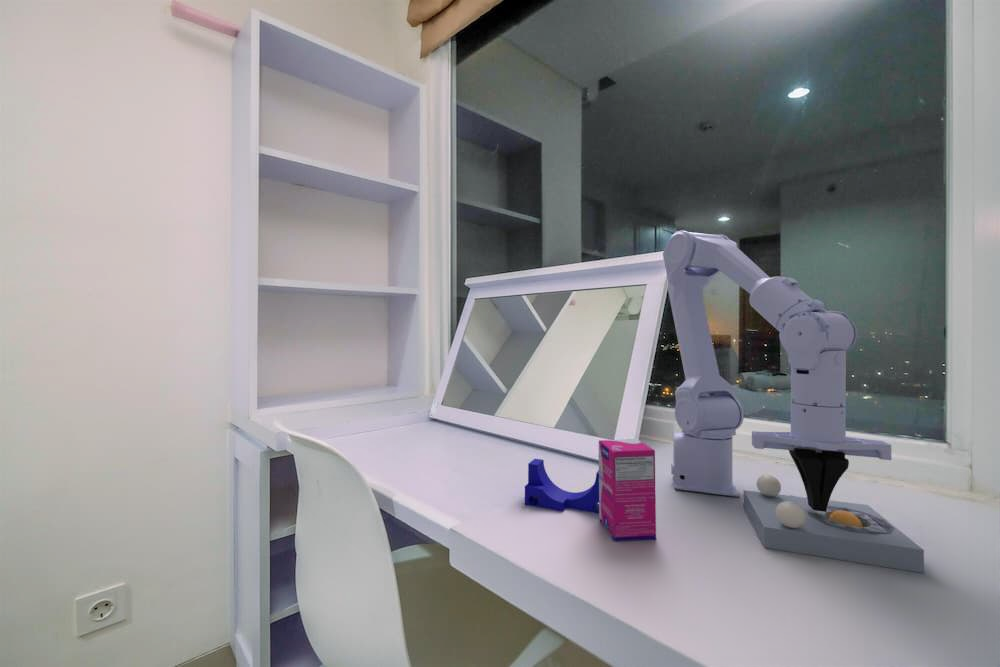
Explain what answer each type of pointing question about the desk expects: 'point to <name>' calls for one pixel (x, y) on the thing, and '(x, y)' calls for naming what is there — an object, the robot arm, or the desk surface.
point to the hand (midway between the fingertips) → (817, 508)
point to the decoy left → (768, 485)
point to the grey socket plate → (834, 533)
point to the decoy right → (790, 514)
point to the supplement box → (627, 489)
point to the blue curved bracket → (557, 492)
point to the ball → (845, 518)
